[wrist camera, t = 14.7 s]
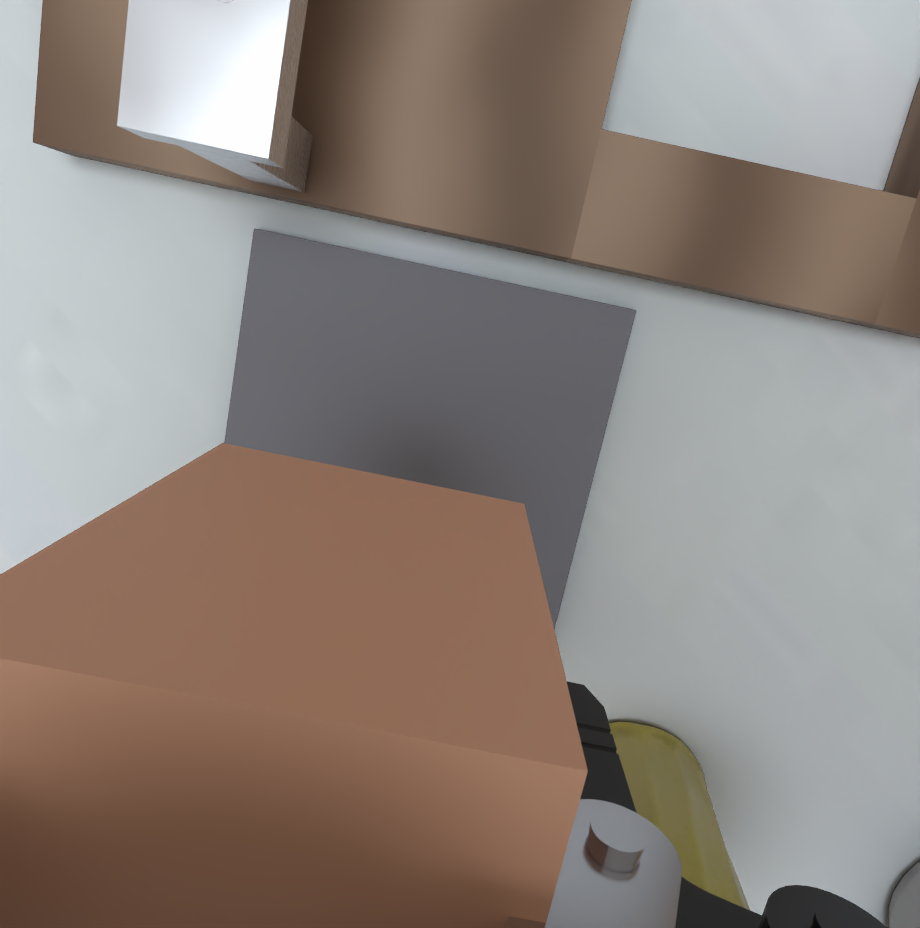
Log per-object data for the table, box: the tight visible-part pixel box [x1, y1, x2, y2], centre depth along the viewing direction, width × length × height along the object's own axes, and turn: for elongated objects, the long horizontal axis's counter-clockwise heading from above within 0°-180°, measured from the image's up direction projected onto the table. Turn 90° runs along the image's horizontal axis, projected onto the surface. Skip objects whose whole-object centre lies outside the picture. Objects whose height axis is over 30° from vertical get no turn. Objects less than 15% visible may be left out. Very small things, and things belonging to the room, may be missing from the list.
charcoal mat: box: [225, 228, 636, 628], centre depth 24 cm, size 12×12×1 cm
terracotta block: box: [0, 443, 588, 928], centre depth 9 cm, size 5×5×7 cm
